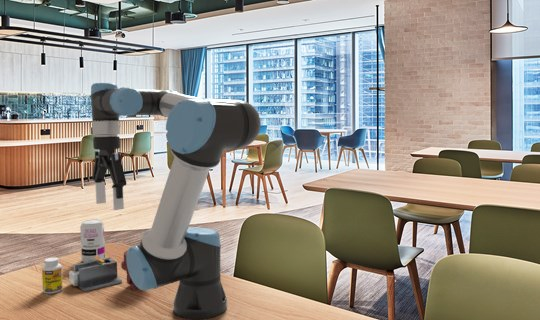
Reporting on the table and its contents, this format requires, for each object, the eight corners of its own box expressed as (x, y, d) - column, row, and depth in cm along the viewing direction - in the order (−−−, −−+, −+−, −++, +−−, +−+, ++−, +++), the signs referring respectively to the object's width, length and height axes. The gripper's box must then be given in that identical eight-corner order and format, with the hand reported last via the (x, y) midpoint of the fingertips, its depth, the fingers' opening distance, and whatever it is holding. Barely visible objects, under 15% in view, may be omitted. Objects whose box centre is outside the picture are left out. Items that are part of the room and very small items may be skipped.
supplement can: (100, 255, 178) (99, 218, 176) (108, 261, 171) (106, 222, 170) (78, 259, 172) (77, 221, 171) (86, 265, 166) (84, 225, 165)
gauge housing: (121, 282, 150) (121, 264, 149) (84, 291, 142) (83, 272, 142) (106, 271, 160) (105, 254, 160) (70, 279, 153) (70, 261, 152)
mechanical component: (159, 281, 151) (145, 293, 141) (131, 279, 153) (115, 290, 143) (158, 245, 150) (144, 254, 140) (130, 243, 152) (114, 252, 142)
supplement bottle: (42, 295, 139) (41, 263, 138) (43, 289, 144) (41, 257, 143) (63, 292, 142) (61, 260, 140) (62, 286, 147) (61, 255, 145)
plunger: (110, 279, 151) (109, 260, 150) (75, 287, 144) (74, 267, 143) (102, 273, 156) (101, 254, 155) (68, 280, 149) (67, 261, 148)
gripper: (136, 136, 128) (139, 210, 130) (103, 134, 147) (106, 199, 149) (110, 137, 123) (113, 214, 125) (79, 135, 142) (82, 202, 144)
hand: (109, 206), depth 137 cm, fingers open, 13 cm apart
